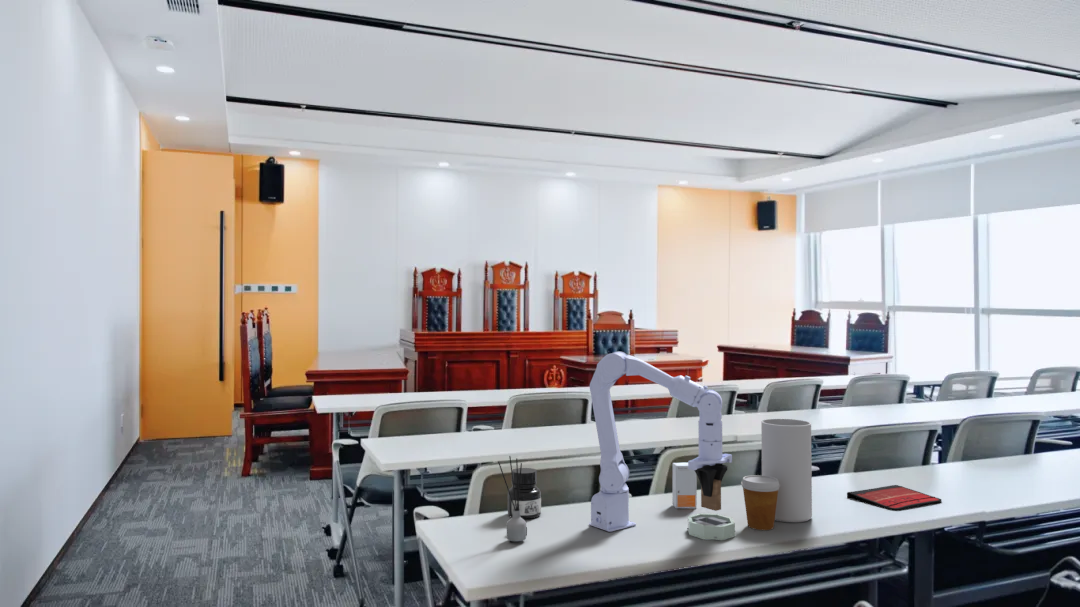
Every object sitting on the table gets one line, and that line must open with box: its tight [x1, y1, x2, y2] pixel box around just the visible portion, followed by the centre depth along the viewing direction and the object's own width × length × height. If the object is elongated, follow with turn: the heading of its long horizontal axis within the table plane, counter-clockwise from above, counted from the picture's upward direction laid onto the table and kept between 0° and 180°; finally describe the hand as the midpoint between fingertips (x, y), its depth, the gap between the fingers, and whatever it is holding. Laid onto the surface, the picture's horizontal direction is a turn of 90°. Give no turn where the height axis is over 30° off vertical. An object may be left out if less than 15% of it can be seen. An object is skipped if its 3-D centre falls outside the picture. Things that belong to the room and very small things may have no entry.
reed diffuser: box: [497, 455, 528, 542], centre depth 168 cm, size 10×7×20 cm
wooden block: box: [700, 479, 722, 512], centre depth 174 cm, size 2×4×7 cm, turn 38°
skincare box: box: [671, 462, 698, 510], centre depth 197 cm, size 6×4×12 cm
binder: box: [846, 484, 942, 512], centre depth 204 cm, size 16×2×21 cm
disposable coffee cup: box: [740, 474, 780, 531], centre depth 179 cm, size 10×10×12 cm
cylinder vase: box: [761, 418, 813, 523], centre depth 188 cm, size 12×12×25 cm
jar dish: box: [686, 512, 736, 541], centre depth 174 cm, size 11×11×3 cm
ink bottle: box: [507, 467, 542, 520], centre depth 190 cm, size 10×9×12 cm
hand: (710, 495), depth 174 cm, fingers closed on wooden block, 2 cm apart
